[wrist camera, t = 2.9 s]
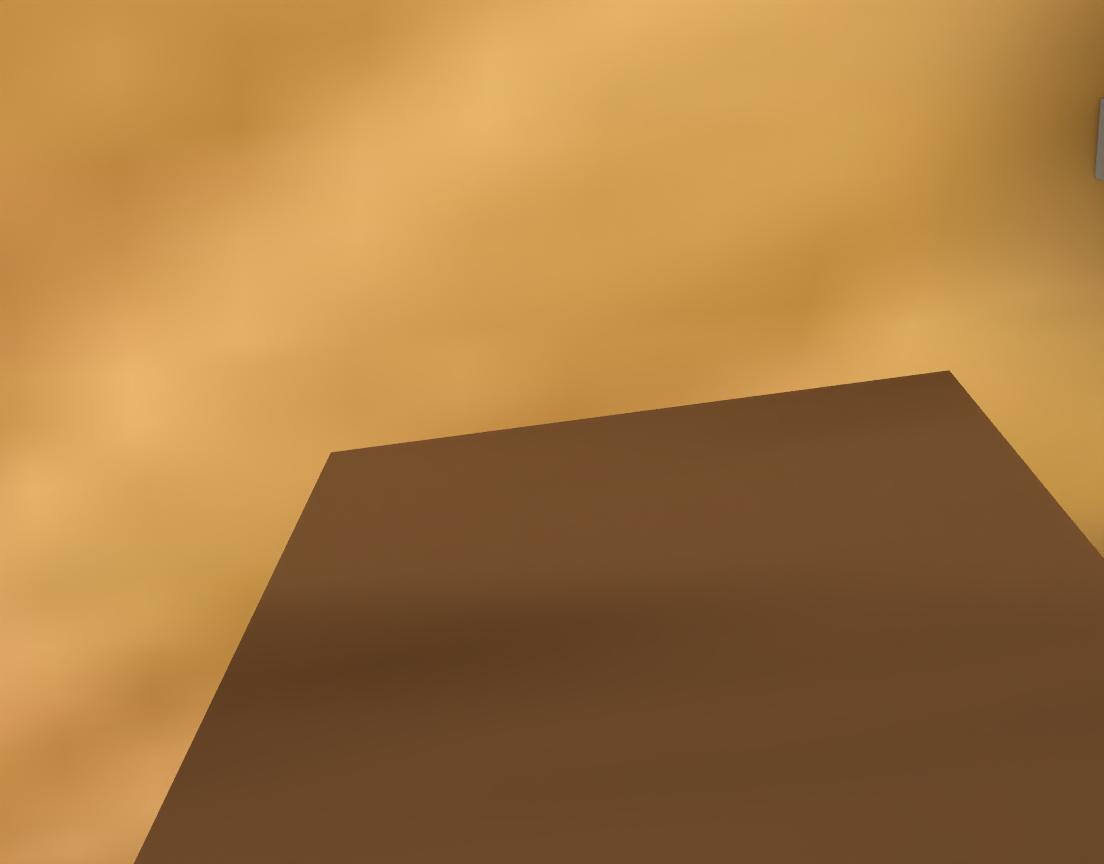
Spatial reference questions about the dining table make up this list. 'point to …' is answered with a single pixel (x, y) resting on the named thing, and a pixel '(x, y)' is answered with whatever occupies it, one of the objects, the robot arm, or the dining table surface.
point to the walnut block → (668, 650)
